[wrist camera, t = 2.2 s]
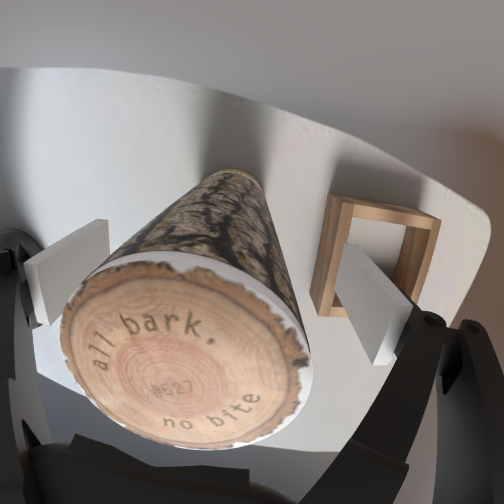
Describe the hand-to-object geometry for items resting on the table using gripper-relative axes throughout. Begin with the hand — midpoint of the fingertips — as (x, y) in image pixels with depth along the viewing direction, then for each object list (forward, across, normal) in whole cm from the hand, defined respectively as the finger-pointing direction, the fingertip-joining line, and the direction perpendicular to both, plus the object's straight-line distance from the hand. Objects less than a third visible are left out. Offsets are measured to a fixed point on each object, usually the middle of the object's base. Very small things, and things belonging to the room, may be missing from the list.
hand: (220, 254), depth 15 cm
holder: (+16, +16, -4) cm, 23 cm away
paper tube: (+16, 0, 0) cm, 16 cm away
